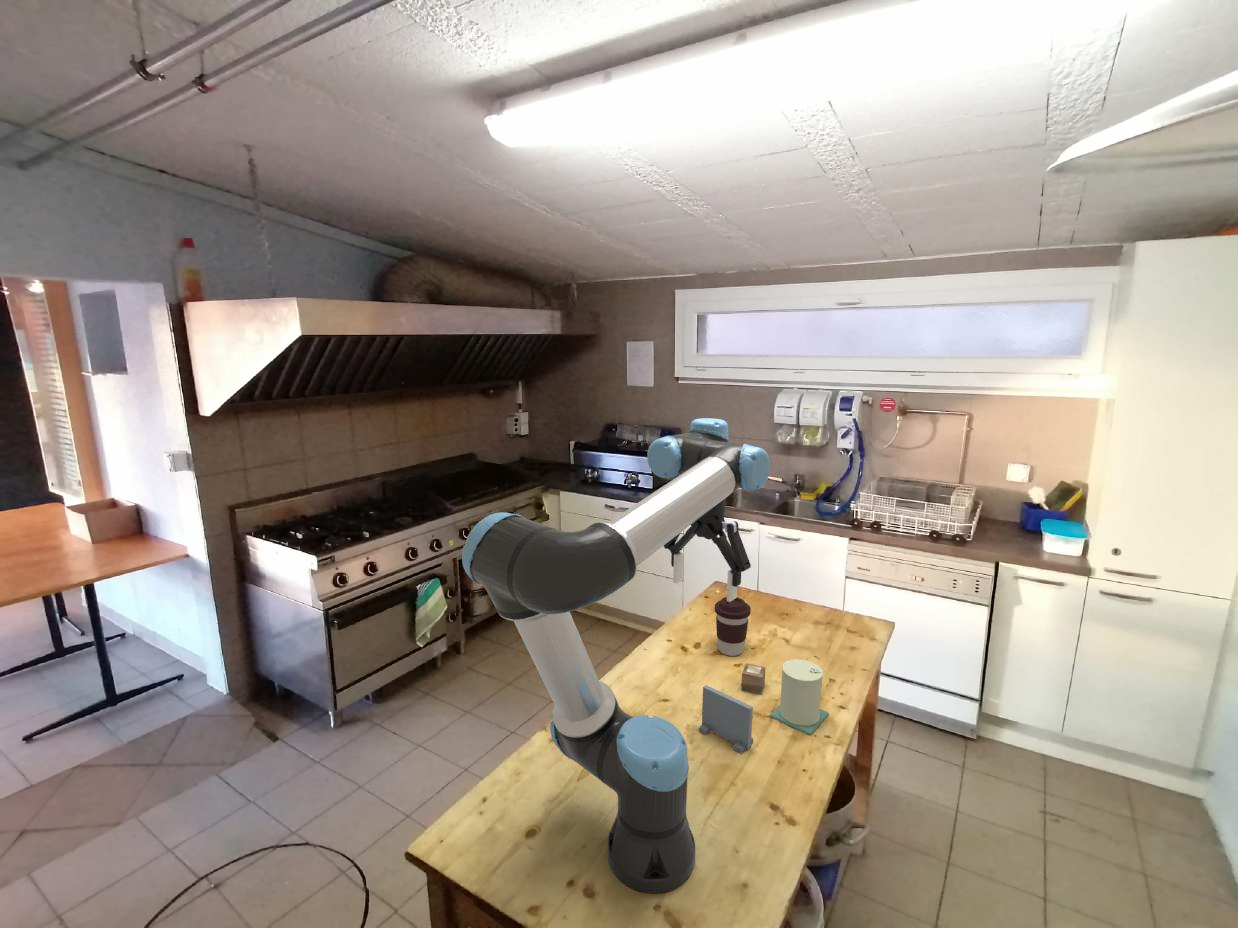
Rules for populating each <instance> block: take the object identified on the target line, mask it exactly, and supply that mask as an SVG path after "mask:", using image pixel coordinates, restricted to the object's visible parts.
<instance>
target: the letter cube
mask: <svg viewBox="0 0 1238 928" xmlns="http://www.w3.org/2000/svg"><path fill="white" fill-rule="evenodd" d="M765 683H766V666H762V665H757V664H752V663H747V662H746V663H745V665H744V667H743V671H742V673H741V688H740V689H741V690H740V691H742V692H746V693H752V694H756V695H759V696H761V695H762V694H763V691H764V687H765Z"/></svg>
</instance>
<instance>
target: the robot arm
mask: <svg viewBox="0 0 1238 928" xmlns="http://www.w3.org/2000/svg"><path fill="white" fill-rule="evenodd" d="M729 441H730V439H729V424H728V423H727V421H725V420H723V419H720V418H711V417H709V418H708V417H706V418H705V417H703V418H696V419H693V420H692V421H691V423H690V429H689V432H686V433H681V434H679V433H678V434H674V435H666V436H663V437H660V438H657V439H655V440H654V441H653V442H651V444H650V445H649V446H648V449H647V454H646V455H647V456H646V457H647V458H646V459H647V464H648V467H649V468H650V470H651V472H652V473H653V474H654V475H656V476H657V477H659V478H662V479H666V478H673V479H672V480H670V481H669V482H667V483H666V484H664V485H662V486H661V487H660V488H658V489H657V490H655V491H653V492H652V493H651V494H649V495H647V496H646V497H644V498H643V499H642V500H640V501H639V502H637V503H635V504H634V505H633V506H631V507H629V508H628V509H627V510H625V511H623V512H621V514H619V515H617V516H615V517H614V518H613V519H611V520H610V521H608V522H604V521H597V522H596V521H595V523H592V524H591V525H589V526H588V527H586V528H584V529H582V530H577V531H576V530H575V531H563V530H560V529H559V530H558V529H557V528H554V527H551V526H549V525H545V524H542V523H540V522H538V521H537V522H536V521H534V520H531V519H528V518H526V517H524V516H523V515H521V514H518V513H510V512H504V511H503V512H495V513H492V514H489V515H486V517H484V518H482V519H481V520H480V521H479V522H477V523H476V524H475V525H474V527H473V528H472V529H471V530H470V531H469V533H468V535H467V537H466V542H465V544H464V545H463V548H462V553H461V554H462V555H461V561H462V567H463V569H464V571H465V573H466V575H468V577H469V578H470V579H471V581H473V582H475V583H476V584H479V585H482V587H483V588H484V589H485V590H486V592H487V594H488V596H489V599H490V600H491V601H492V603H493V605H494V607H495V609H496V612H497V614H499V616H500V617H501V618H503V619H505V620H507V621H513V623H514V625H515V627H516V628H517V631H518V634H519V635H520V637H521V639H522V641H523V644H524V645H525V647H526V650H527V651H528V653H529V655H530V657H531V660H532V661H533V663H534V665H535V668H536V669H537V671H538V674H539V675H540V677H541V679H542V682H543V684H544V686H545V688H546V690H547V691H548V694H549V696H550V698H551V700H552V702H553V703H554V706H553V710H552V713H551V719H552V721H551V722H550V725H549V730H550V731H549V732H550V736H551V739H552V741H553V743H554V745H555V747H556V748H558V749H559V750H560V752H561V753H562V755H564V756H565V757H566V758H568V759H569V760H571V761H574V762H575V763H576V764H578V765H579V766H580V767H582V768H583V769H585V771H587V772H588V773H590V774H591V775H592V776H594V777H596V778H597V779H598V780H599V781H601V783H603V784H604V785H606V786H607V787H608V788H610V789H611V790H612V791H614V792H615V793H616V794H617V814H616V816H615V818H614V820H613V821H614V822H613V824H612V825H611V829H610V831H609V834H608V840H607V859H608V864H609V866H610V869H611V871H612V873H613V874H614V876H615V877H616V878H617V879H618V880H619V881H620V882H621V883H622V884H623V885H625V886H627V887H628V888H630V889H633V890H635V891H637V892H641V893H647V894H661V893H662V894H663V893H667V892H670V891H672V890H675V889H676V888H678V887H680V886H681V885H683V884H684V882H686V881H687V880H688V878H690V875H691V874H692V872H693V870H694V868H695V862H696V843H695V842H696V841H695V838H694V835H693V832H692V830H691V828H690V823H689V821H688V818H687V799H688V798H687V797H688V796H687V795H688V776H689V769H690V768H689V767H690V765H689V756H688V746H687V742H686V740H685V737H684V734H682V732H681V731H680V729H678V728H677V727H676V726H675V725H674V724H673V723H671V722H670V721H669V720H666V719H664V718H662V717H660V716H655V715H653V717H650V716H649V715H648V714H647V715H646V714H642V715H637V716H632V715H630V714H629V713H627V712H625V711H624V710H623V709H622V708H621V707H620V705H619V703H618V700H617V698H616V696H615V693H614V691H613V690H612V688H611V687H610V686H609V684H607V683H605V682H603V681H601V680H599V678H598V675H597V673H596V671H595V668H594V666H593V664H592V661H591V659H590V657H589V654H588V652H587V648H586V647H585V645H584V642H583V641H582V638H581V635H580V633H579V630H578V628H577V626H576V624H575V621H574V619H573V616H572V614H571V612H573V611H574V612H575V611H578V610H579V609H580V610H581V609H582V608H585V607H588V606H591V605H593V604H595V603H597V602H599V601H602V600H603V599H605V598H607V597H608V596H610V595H612V594H614V593H615V592H617V591H618V590H619V589H621V588H623V587H624V586H625V585H627V583H629V582H630V581H632V579H634V578H635V577H636V574H637V571H638V566H639V565H640V564H642V563H643V562H644V561H645V560H647V559H649V558H650V557H651V556H652V555H653V554H654V553H656V552H657V551H658V550H660V549H661V548H664V549H666V550H669V551H670V554H671V556H670V557H671V560H670V562H671V563H670V564H671V567H672V568H673V575H672V576H673V577H672V578H673V580H672V582H673V584H678V583H680V582H682V581H684V573H685V572H684V570H685V569H684V568H685V567H684V566H685V565H684V564H685V552H684V551H683V548H684V547H685V546H686V545H687V544H689V542H691V540H692V539H693V538H694V537H695V536H696V537H698V538H704V539H706V540H711V541H712V543H713V544H715V545H716V546H717V548H718V550H719V551H720V553H721V555H722V557H723V558H724V560H725V562H726V563H727V565H728V567H729V568H730V569H729V570H727V582H726V583H727V584H726V597H727V601H728V602H731V601H732V600H734V599H736V598H737V597H738V586H740V585H741V584H742V572H746V571H747V570H749V569H751V568H752V564H751V562H750V559H749V556H748V554H747V551H746V548H745V545H744V543H743V540H742V538H741V535H740V532H739V523H738V521H736V520H735V521H732V522H731V521H726V520H725V513H726V503H727V502H726V499H727V498H728V497H729V496H731V494H733V493H735V492H736V491H738V490H739V489H743V490H744V491H747V490H749V491H758V490H760V489H761V488H763V487H764V485H765V484H766V482H767V480H768V478H769V475H770V472H771V471H770V470H771V465H770V458H769V457H770V456H769V454H768V452H767V451H765V449H764V448H763V447H762V448H761V447H757V446H752V445H749V444H747V443H744V444H743V443H734V442H729ZM674 477H675V478H674ZM688 527H689V528H688ZM687 528H688V529H687ZM686 529H687V530H686ZM724 529H725V530H724ZM685 530H686V531H685ZM683 531H685V533H684V534H683V535H682V536H681V537H680V535H681V534H682V532H683ZM679 537H680V538H679ZM727 538H728V539H727Z"/></svg>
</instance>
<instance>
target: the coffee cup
mask: <svg viewBox="0 0 1238 928" xmlns="http://www.w3.org/2000/svg"><path fill="white" fill-rule="evenodd" d="M751 611H752V610H751V606H750V605H749V604H748V603H746V601H745V600H744V599H742V598H740V597H738V596H737V598H736V599H734V600H732V601H731V602H728V601H727V596H725V597H722V598H721V599H720V600H718V601H717V602H716V603H715V604H714V612H715V614H716V617H715V620H716V621H715V623H716V637H717V650H718V651H719V652H720V653H721V654H723V655H725V656H728V657H729V656H730V657H735V656H740V655H742V654H743V653H744V651H745V644H746V643H745V642H746V640H747V632H748V624H749V616H751Z"/></svg>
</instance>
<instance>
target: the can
mask: <svg viewBox="0 0 1238 928" xmlns="http://www.w3.org/2000/svg"><path fill="white" fill-rule="evenodd" d="M781 669H782V670H781V688H780V702H779V703H780V704H779V706H780V707H779V706H778V707H779V712H780V714H781V716H782V717H783V718H784V719H785V720H787V721H788V722H790V723H792V724H795V725H800V726H810V725H814V724H816V723H817V722H818V721H819V719H820V709H821V697H822V696H821V695H822V687H823V685H822V684H823V677H824V671H823V669H822V668H821V667H820V665H818V664H816V663H814V662H812V661H810V660H805V659H802V658H801V659H800V658H799V659H798V658H797V659H796V658H794V659H789V660H787V661H785V662H784V663H783V664H782V666H781Z"/></svg>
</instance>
